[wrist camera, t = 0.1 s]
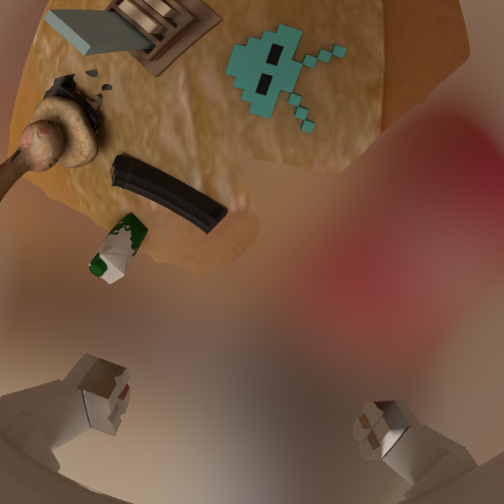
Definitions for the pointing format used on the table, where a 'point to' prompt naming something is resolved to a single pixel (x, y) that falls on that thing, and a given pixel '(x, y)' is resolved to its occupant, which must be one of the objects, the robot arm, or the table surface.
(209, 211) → the magazine
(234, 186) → the table surface
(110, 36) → the sheet
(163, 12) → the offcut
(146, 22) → the block
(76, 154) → the vase
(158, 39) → the rack
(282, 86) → the alien figure
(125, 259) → the milk carton
